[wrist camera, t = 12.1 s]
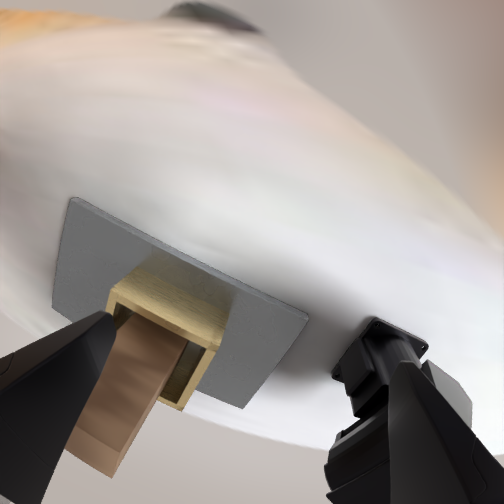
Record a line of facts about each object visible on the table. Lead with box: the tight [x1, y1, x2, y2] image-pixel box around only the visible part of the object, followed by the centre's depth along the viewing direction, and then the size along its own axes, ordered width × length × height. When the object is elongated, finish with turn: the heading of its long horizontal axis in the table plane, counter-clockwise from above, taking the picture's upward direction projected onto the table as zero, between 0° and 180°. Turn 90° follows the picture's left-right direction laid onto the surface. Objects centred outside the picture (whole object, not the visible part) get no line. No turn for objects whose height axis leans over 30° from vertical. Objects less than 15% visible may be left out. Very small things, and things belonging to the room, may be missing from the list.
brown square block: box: [64, 312, 189, 478], centre depth 17 cm, size 4×4×12 cm
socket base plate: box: [52, 197, 308, 412], centre depth 21 cm, size 20×11×5 cm, turn 64°
